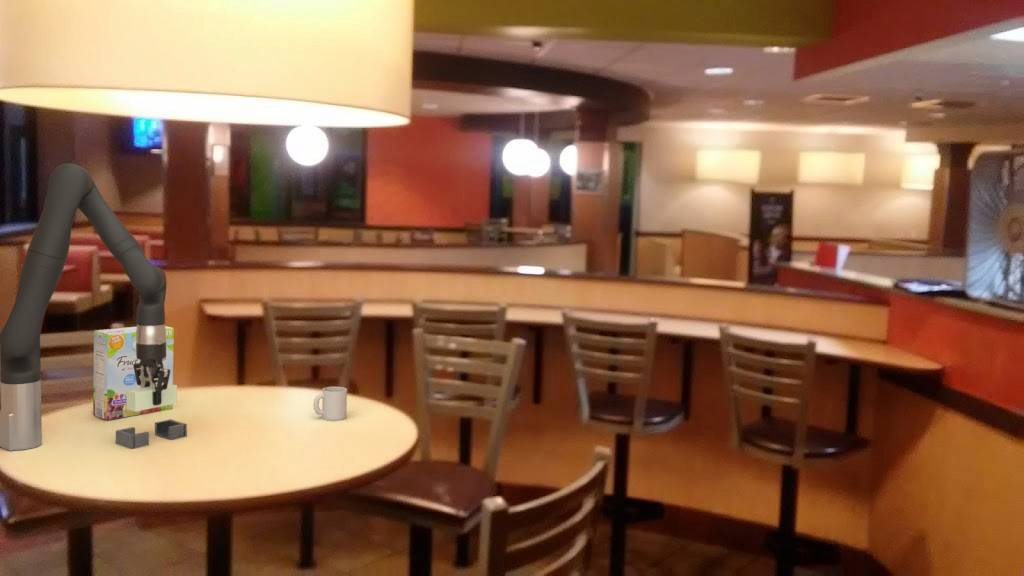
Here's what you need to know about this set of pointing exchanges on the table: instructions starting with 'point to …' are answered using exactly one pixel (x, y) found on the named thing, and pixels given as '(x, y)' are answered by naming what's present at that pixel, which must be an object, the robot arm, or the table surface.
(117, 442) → the end cap
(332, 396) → the cup
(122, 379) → the snack box
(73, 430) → the table surface
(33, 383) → the robot arm
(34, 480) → the table surface
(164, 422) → the end cap
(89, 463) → the table surface
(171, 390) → the slat
